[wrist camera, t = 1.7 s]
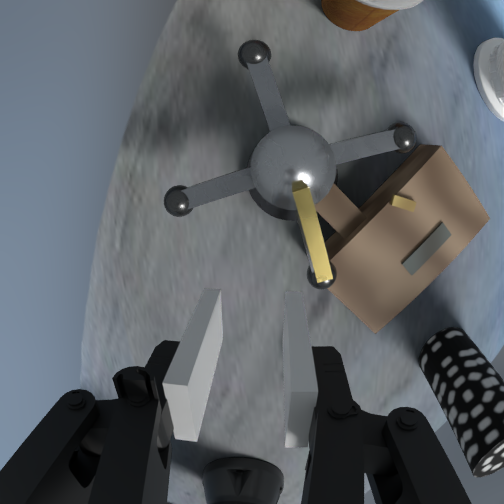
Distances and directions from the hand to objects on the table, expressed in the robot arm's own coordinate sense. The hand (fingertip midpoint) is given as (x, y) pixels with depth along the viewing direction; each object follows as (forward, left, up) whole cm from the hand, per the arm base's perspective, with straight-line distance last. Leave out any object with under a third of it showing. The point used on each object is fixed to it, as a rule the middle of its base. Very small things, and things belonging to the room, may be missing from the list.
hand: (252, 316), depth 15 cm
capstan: (+6, +2, -21) cm, 22 cm away
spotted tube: (+4, -32, -21) cm, 38 cm away
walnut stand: (+9, -9, -21) cm, 24 cm away
